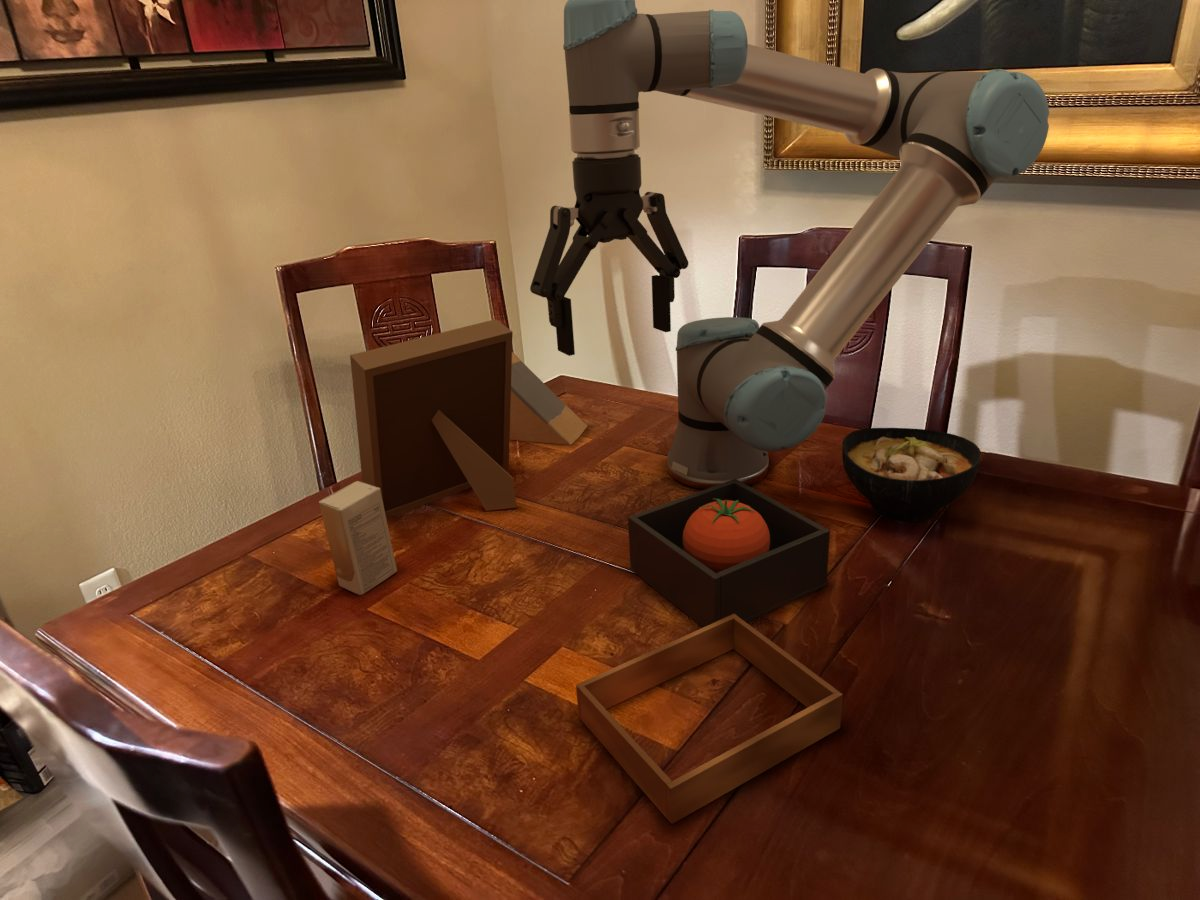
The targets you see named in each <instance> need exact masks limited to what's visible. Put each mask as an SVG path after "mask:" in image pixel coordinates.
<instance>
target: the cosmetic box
mask: <svg viewBox="0 0 1200 900" xmlns="http://www.w3.org/2000/svg"><path fill="white" fill-rule="evenodd" d="M318 504H319V509H320V512H321V517H322V521H323V522H322V523H323V525H324V529H325V533H326V537H327V542H328V545H329V546H328V547H329V551H330V554H331V559H332V563H333V566H334V570H335V571H334V572H335V574H336V579H337V583H338V587H341V588H343V589H345V590H347V591H349V592H352V593H354V594H356V595H358V596H362V595H365V594H366V593H367V592H369V591H370V590H372V589H373V588H375V587H376V586H378V585H379V584H381V583H382V582H384V581H385V580H387V579H388V578H390V577H391V576H393V575H394V574H395V573H397V572H398V567H397V562H396V557H395V553H394V548H393V544H392V539H391V534H390V530H389V525H388V520H387V519H388V518H387V519H386V515H385V510H384V505H383V500H382V496H381V491H380V488H378V487H375V486H372V485H369V484H366V483H363V482H362V481H359V480H356V481H354V482H352V483H350V484H349V485H346V486H345V487H342V488H341V489H339V490H337V491H335V492H334V493H331V494H329V495H328V496H326V497H324V498H322V499H320V500H319V501H318Z"/></svg>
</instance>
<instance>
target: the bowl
mask: <svg viewBox="0 0 1200 900" xmlns="http://www.w3.org/2000/svg"><path fill="white" fill-rule="evenodd" d="M841 452H842V453H841V457H842V459H841V460H842V465H843V469H844V471H845V474H846V476H847V477H848V479H849V481H850V483H851V484H852V485H853V487H854V488H855V489H856V490H857V492H858V493H859V494H860V495H861V496H862V497H863V498H865V499H866V500H867V501H868V503H869V505H870V507H871V509H872V510H873V511H874V512H875V513H876V514H877V515H879V516H881V517H882V518H884V519H888V520H890V521H895V522H899V523H923V522H927V521H929V520H931V519H933V518H934V517H935V516H936V515H937V514H938V513H939V511H940V510H942V509H943V508H945V507H947V506H949V505H951V504H952V503H954V502H955V501H956V500H957V499H959V498H960V497H961V496H962V495H964V494H965V493H966V492H967V491H968V489H969V488H970V487H971V485H972V484H973V483H974V481H975V479H976V476H977V474H978V472H979V469H980V465H981V459H982V452H981V449H980V448H979V445H977V444H976V443H975V442H973V441H971V440H970V439H968V438H966V437H962V436H959V435H957V434H954V433H948V432H943V431H938V430H931V429H923V428H909V427H867V428H861V429H857V430H853V431H851V432H850V433H848V434H847V435H846V436H845V437H844V438H843V439H842V442H841Z"/></svg>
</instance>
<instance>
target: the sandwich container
mask: <svg viewBox="0 0 1200 900" xmlns="http://www.w3.org/2000/svg"><path fill="white" fill-rule="evenodd" d="M587 427H588V424H586V423H585V422H584V420H582V419H581V418H580V417H579V416H578V415H577V414H576V413H575V412H574V411H573V410H572V409H571V408H570V407H569V406H568V405H567V404H566V403H565V402H564V401H562V400H561V399H560V398H559V397H558V396H557V395H556V393H554V392H553V391H552V390H551V389H550V388H549V387H548V386H547V385H546V383H545V382H543V380H541V378H539V377H538V376H537V375H536V374H535V373H534V372H533V371H532V370H531V369H530V368H529V367H528V366H527V365H526V364H525V363H524V362H523V361H522V360H521V359H520V358H519V356H518V355H516V354H515V352H514V351H512V370H511V406H510V441H519V442H529V443H541V444H542V443H544V444H555V445H566V446H568V445H569V446H572V445H573V443H575V442H576V441H577V440H578V438H579V437H581V436H582V434H583V433H584V431H585V430H586V429H587Z"/></svg>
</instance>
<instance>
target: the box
mask: <svg viewBox="0 0 1200 900" xmlns="http://www.w3.org/2000/svg"><path fill="white" fill-rule="evenodd" d="M732 650H734V651H735V652H736V653H737V654H739V655H740V656H741V657H742V658H744V659H745V660H746V661H747V662H748V663H750V664H751V665H753V666H754V667H755V668H756V669H758V670H759V671H760V672H761V673H762V674H764V675H765V676H766V677H768V678H769V679H770V680H771V681H773V683H775V684H777V685H778V687H780V688H782V689H783V690H784V691H785V692H786V693H788V694H789V695H790V696H792V697H793V698H794V699H795V700H797V701H798V702H799V703H801V705H803V706H804V707H805V708H804V709H802V710H800V711H799V712H796V713H795V714H793V715H791V716H790V717H788V718H786V719H784V720H782V721H781V722H778V723H776V724H775V725H773V726H771V727H769V728H768V729H765V730H764V731H762V732H760V733H758V734H757V735H755V736H753V737H751V738H749V739H747V740H745V741H743V742H742V743H740V744H738V745H736V746H734V747H732V748H731V749H729V750H727V751H725V752H723V753H721V754H719V755H717V756H716V757H714V758H712V759H710V760H708V761H707V762H705V763H703V764H701V765H699V766H697V767H696V768H694V769H692V770H690V771H688V772H686V773H684V774H683V775H681V776H679V777H677V778H675V779H673V780H672V779H671V778H670V777H669V776H668V775H667V773H665V772H664V770H663V769H662V768H661V767H660V766H659V765H658V764H657V763H656V761H654V760H653V759H652V757H650V755H649V754H648V753H647V752H646V751H645V750H644V749H643V748H642V747H641V746H640V744H638V743H637V741H636V740H635V739H634V738H633V737H632V736H631V734H629V732H627V730H626V729H625V728H624V727H623V726H622V725H621V724H620V723H619V722H618V720H616V719H615V717H614V716H613V715H612V714H611V713H610V712H609V711H608V709H610V708H613V707H614V706H616V705H619V704H620V703H622V702H625V701H627V700H629V699H631V698H634V697H635V696H637V695H639V694H642V693H645V692H646V691H648V690H650V689H652V688H654V687H656V686H658V685H660V684H663V683H664V682H667V681H669V680H671V679H673V678H675V677H678V676H679V675H682V674H684V673H686V672H688V671H690V670H692V669H695V668H697V667H699V666H701V665H702V664H705V663H707V662H709V661H711V660H713V659H715V658H718V657H720V656H721V655H724V654H726V653H728V652H730V651H732ZM575 689H576V702H577V703H576V704H577V713H578V714H577V715H578V719H579V720H580V721H581V722H582V723H583V724H584V726H586V728H587V729H588V730H589V731H590V732H591V733H592V735H593V736H594V737H595V738H596V739H597V740H598V742H599V743H600V744H601V745H602V746H603V747H604V749H606V751H607V752H608V753H609V754H610V755H611V756H612V758H613V759H614V760H615V761H616V762H617V763H618V764H619V766H620V767H621V768H622V769H623V770H624V771H625V773H626V774H627V775H628V776H629V777H630V778H631V780H632V781H633V782H634V783H635V784H636V785H637V787H639V789H640V790H641V791H642V792H643V793H644V794H645V795H646V797H647V798H648V799H649V800H650V801H651V802H652V804H653V805H654V806H655V807H656V809H658V810H659V812H660V813H661V814H662V815H663V816H664V817H665V819H666V820H667V821H668V822H669V824H671V825H673V824H675V823H677V822H678V821H680V820H682V819H684V818H686V817H687V816H689V815H690V814H692V813H695V812H696V811H697V810H699V809H702V808H703V807H705V806H707V805H708V804H710V803H712V802H714V801H715V800H717V799H719V798H721V797H722V796H724V795H725V794H728V793H729V792H731V791H733V790H735V789H736V788H738V787H740V786H741V785H743V784H745V783H747V782H749V781H750V780H752V779H754V778H756V777H757V776H759V775H761V774H762V773H764V772H766V771H768V770H770V769H771V768H773V767H775V766H777V765H779V764H780V763H782V762H784V761H785V760H787V759H789V758H790V757H792V756H794V755H796V754H797V753H799V752H801V751H803V750H804V749H806V748H808V747H809V746H811V745H814V744H815V743H817V742H818V741H820V740H822V739H824V738H825V737H828V736H829V735H831V734H832V733H834V732H837V731H838V730H840V729H841V723H842V709H843V697H844V696H843V695H844V694H843V693H842V692H840V691H839V690H837V689H836V687H834V686H832V685H831V684H830V683H828V682H827V681H825V679H823V678H822V677H820V676H819V675H818V674H817V673H815V672H814V671H812V670H811V669H810V668H808V667H807V666H805V665H804V664H803V663H802V662H800V661H799V660H798V659H796V658H795V657H793V655H791V654H789V653H788V652H787V651H785V650H784V649H782V648H781V647H780V646H778V645H777V644H776V643H775V642H773V641H772V640H771V639H769V638H768V637H766V636H765V635H764V634H762V633H761V632H760V631H758V630H757V629H756V628H754V627H753V626H751V624H749V623H748V622H747V623H746V622H745V621H743V620H742V619H741V618H739V617H738V616H737V615H735V614H732V615H730V616H728V617H726V618H723V619H721V620H719V621H717V622H714V623H712V624H710V625H708V626H706V627H700V628H699V629H697V630H695V631H693V632H690V633H688V634H685V635H683V636H682V637H679V638H677V639H675V640H673V641H670V642H668V643H666V644H663V645H661V646H659V647H657V648H654V649H652V650H650V651H647V652H646V653H644V654H641V655H639V656H637V657H634V658H632V659H629V660H628V661H626V662H624V663H622V664H619V665H617V666H614V667H612V668H610V669H608V670H606V671H604V672H601V673H599V674H597V675H595V676H592V677H590V678H588V679H585V680H583V681H581V682H579V683H576V685H575Z"/></svg>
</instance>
